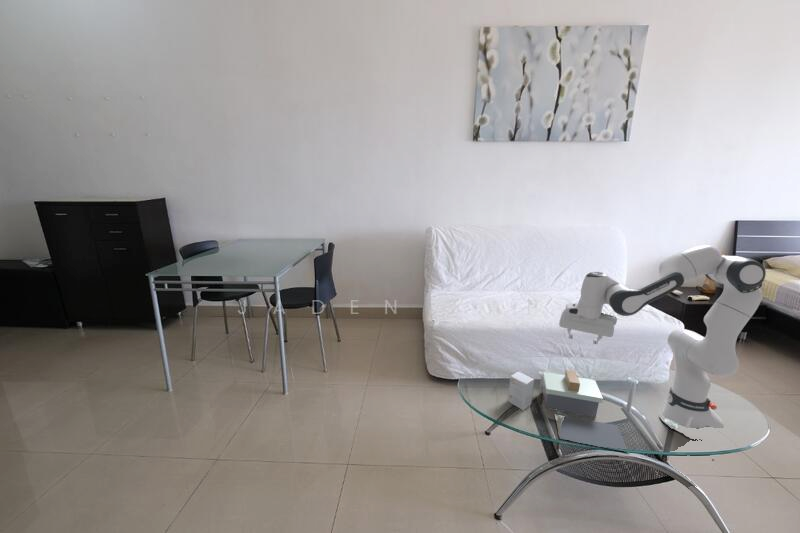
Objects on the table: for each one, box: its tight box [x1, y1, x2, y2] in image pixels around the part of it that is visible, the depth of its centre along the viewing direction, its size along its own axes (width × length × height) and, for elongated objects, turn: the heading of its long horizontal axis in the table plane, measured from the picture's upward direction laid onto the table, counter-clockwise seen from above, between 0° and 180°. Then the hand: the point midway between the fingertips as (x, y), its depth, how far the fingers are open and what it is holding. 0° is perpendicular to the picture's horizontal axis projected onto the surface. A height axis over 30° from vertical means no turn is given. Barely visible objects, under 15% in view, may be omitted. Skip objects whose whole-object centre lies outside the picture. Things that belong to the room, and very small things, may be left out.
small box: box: [507, 371, 535, 411], centre depth 156 cm, size 8×6×13 cm
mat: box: [557, 415, 628, 449], centre depth 141 cm, size 24×15×1 cm, turn 74°
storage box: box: [542, 385, 600, 418], centre depth 157 cm, size 20×12×9 cm, turn 74°
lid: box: [542, 369, 604, 404], centre depth 155 cm, size 22×14×6 cm, turn 74°
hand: (582, 340), depth 150 cm, fingers open, 8 cm apart
